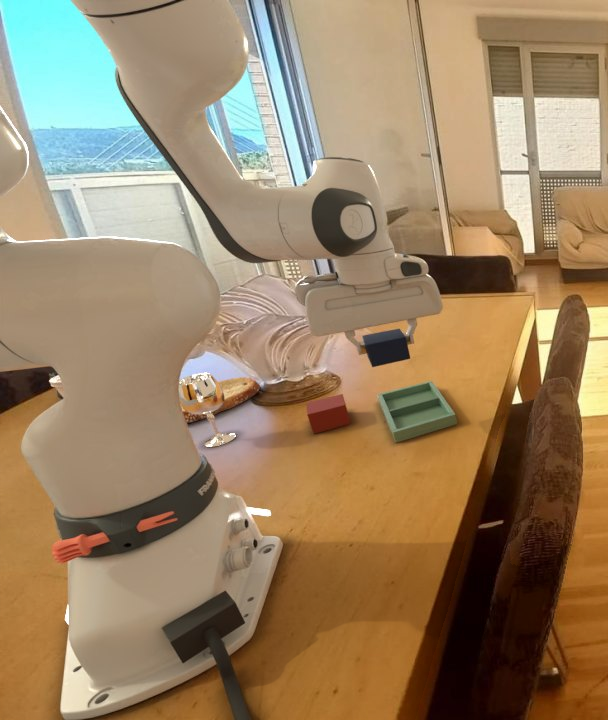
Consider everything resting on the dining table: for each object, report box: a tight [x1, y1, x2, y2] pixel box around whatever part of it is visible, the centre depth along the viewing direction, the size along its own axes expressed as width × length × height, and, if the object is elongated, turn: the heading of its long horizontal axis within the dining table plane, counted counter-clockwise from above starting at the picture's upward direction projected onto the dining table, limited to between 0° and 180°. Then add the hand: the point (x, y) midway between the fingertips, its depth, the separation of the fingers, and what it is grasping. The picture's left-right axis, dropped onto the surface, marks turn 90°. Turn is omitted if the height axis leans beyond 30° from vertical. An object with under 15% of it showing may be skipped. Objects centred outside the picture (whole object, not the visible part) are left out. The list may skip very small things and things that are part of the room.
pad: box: [362, 328, 411, 368], centre depth 81 cm, size 6×6×4 cm
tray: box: [376, 380, 458, 444], centre depth 90 cm, size 18×11×2 cm, turn 33°
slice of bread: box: [181, 376, 261, 425], centre depth 95 cm, size 18×18×4 cm
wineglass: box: [179, 372, 237, 448], centre depth 82 cm, size 6×6×12 cm
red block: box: [305, 393, 352, 435], centre depth 88 cm, size 6×6×4 cm
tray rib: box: [390, 397, 440, 418], centre depth 90 cm, size 1×9×2 cm, turn 124°
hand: (387, 348), depth 81 cm, fingers closed on pad, 6 cm apart
